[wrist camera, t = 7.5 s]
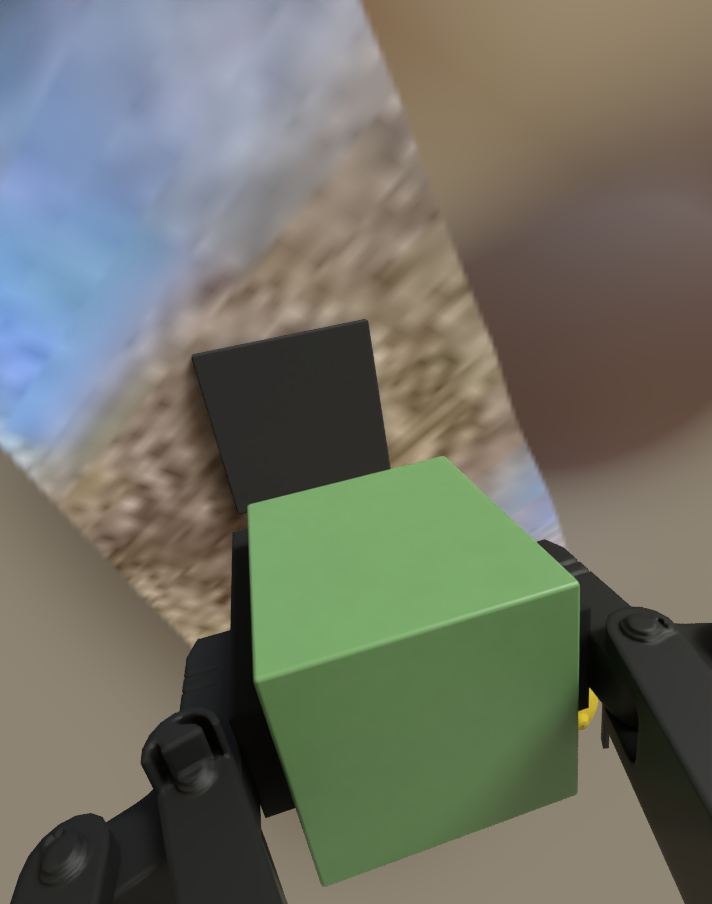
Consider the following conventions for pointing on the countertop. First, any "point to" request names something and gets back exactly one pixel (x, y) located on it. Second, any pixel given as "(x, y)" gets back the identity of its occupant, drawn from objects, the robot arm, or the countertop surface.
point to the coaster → (295, 411)
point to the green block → (410, 663)
